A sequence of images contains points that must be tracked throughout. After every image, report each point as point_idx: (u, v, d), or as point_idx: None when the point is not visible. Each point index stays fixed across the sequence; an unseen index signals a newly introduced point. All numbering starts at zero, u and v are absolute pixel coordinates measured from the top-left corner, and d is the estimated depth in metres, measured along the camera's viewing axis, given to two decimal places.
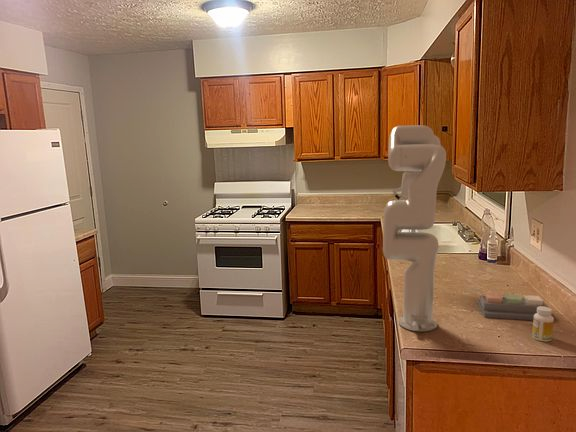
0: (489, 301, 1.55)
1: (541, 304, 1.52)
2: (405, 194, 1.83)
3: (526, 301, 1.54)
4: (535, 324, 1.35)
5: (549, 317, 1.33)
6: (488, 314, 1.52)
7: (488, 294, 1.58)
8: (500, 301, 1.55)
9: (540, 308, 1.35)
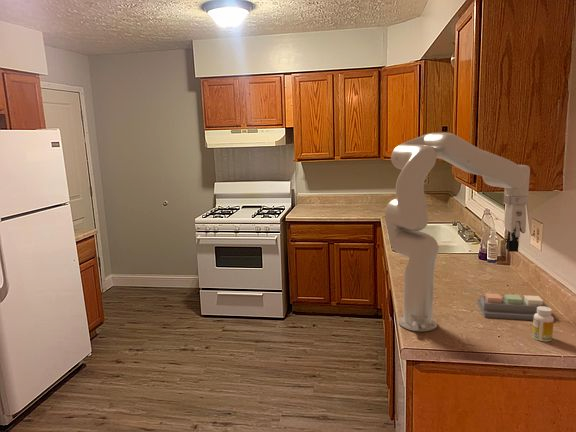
0: (489, 301, 1.55)
1: (541, 304, 1.52)
2: None
3: (526, 301, 1.54)
4: (535, 324, 1.35)
5: (549, 317, 1.33)
6: (488, 314, 1.52)
7: (488, 294, 1.58)
8: (500, 301, 1.55)
9: (540, 308, 1.35)
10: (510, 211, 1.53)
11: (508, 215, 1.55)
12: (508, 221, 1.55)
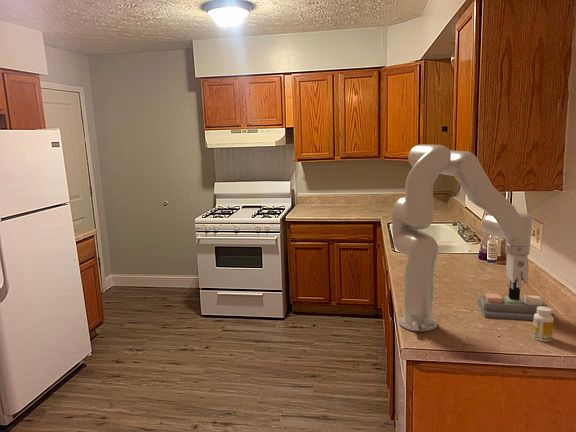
0: (489, 301, 1.55)
1: (541, 304, 1.52)
2: None
3: (526, 301, 1.54)
4: (535, 324, 1.35)
5: (549, 317, 1.33)
6: (488, 314, 1.52)
7: (488, 294, 1.58)
8: (500, 301, 1.55)
9: (540, 308, 1.35)
10: (512, 260, 1.51)
11: (510, 264, 1.52)
12: (510, 270, 1.52)
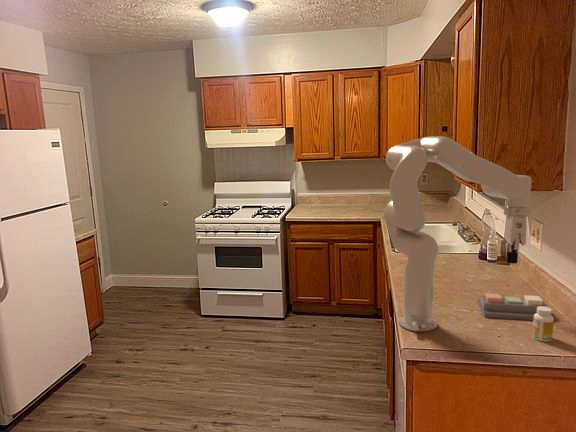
0: (489, 301, 1.55)
1: (541, 304, 1.52)
2: None
3: (526, 301, 1.54)
4: (535, 324, 1.35)
5: (549, 317, 1.33)
6: (488, 314, 1.52)
7: (488, 294, 1.58)
8: (500, 301, 1.55)
9: (540, 308, 1.35)
10: (510, 222, 1.49)
11: (508, 226, 1.51)
12: (508, 233, 1.51)
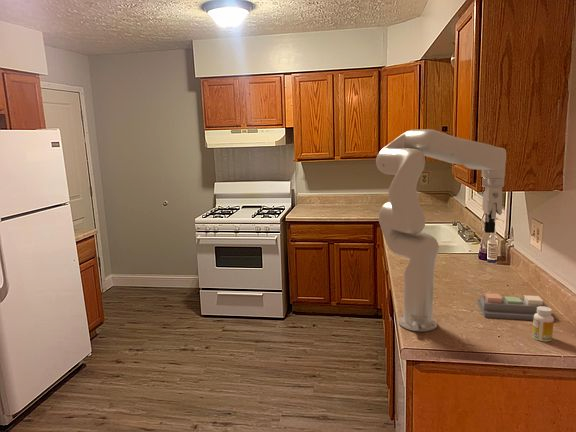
0: (489, 301, 1.55)
1: (541, 304, 1.52)
2: None
3: (526, 301, 1.54)
4: (535, 324, 1.35)
5: (549, 317, 1.33)
6: (488, 314, 1.52)
7: (488, 294, 1.58)
8: (500, 301, 1.55)
9: (540, 308, 1.35)
10: (487, 193, 1.56)
11: (485, 197, 1.57)
12: (485, 203, 1.57)
